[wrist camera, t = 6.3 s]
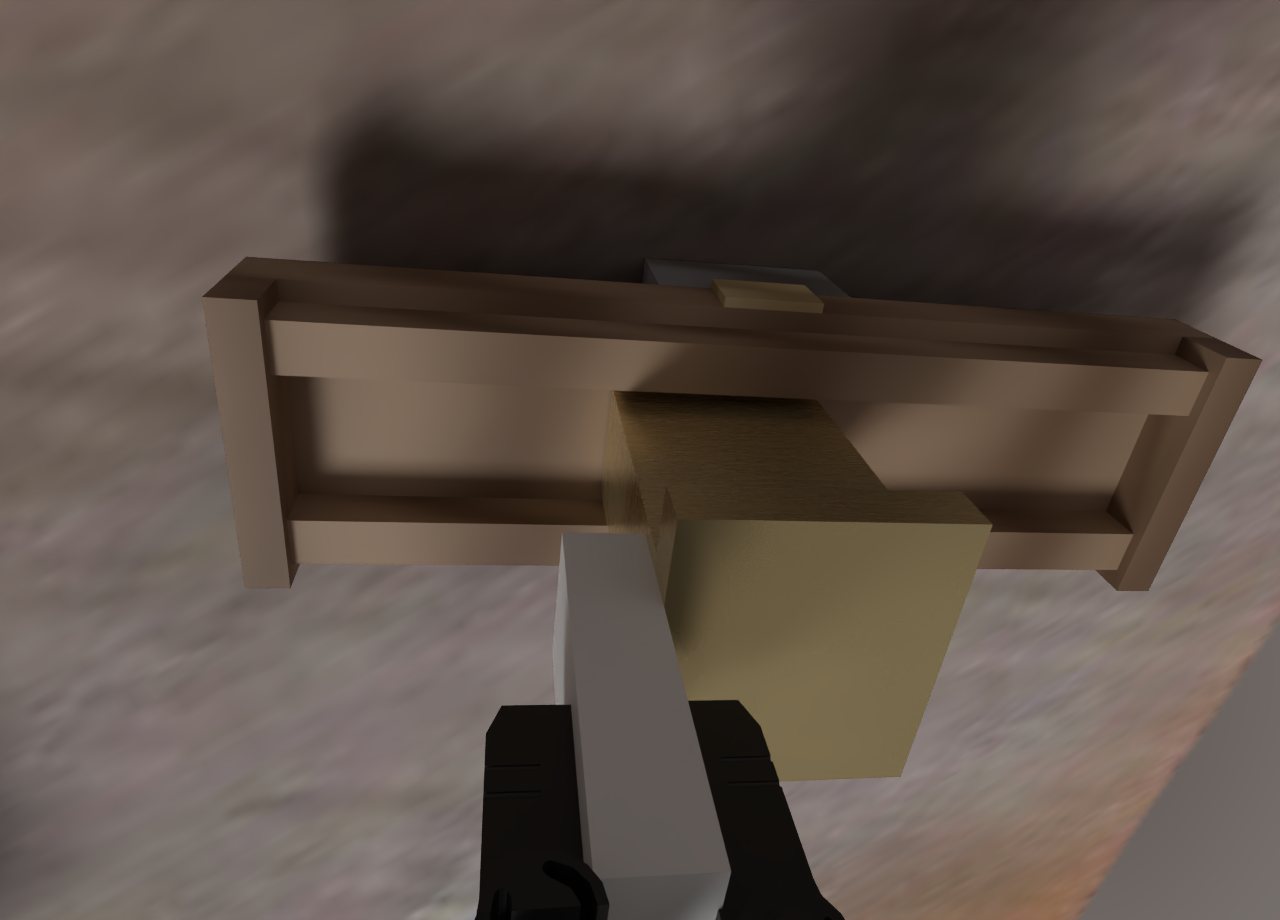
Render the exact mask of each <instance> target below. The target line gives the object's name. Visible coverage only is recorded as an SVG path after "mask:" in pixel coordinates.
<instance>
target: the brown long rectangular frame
mask: <svg viewBox="0 0 1280 920" xmlns="http://www.w3.org/2000/svg"><path fill="white" fill-rule="evenodd" d="M202 300H203V307H204V314H205V321H206V328H207V334H208V341H209V348H210V355H211V361H212V368H213V375H214V382H215V388H216V395H217V402H218V409H219V416H220V422H221V429H222V436H223V443H224V449H225V456H226V463H227V470H228V476H229V483H230V490H231V497H232V504H233V510H234V517H235V524H236V531H237V537H238V544H239V551H240V558H241V565H242V571H243V578H244V585H245V588H291V585H292V583H293V580H294V577H295V575H296V572H297V570H298V567H299V565H300V564H418V565H546V566H559V564H560V552H561V539H562V532H579V533H608V529H607V523H606V518H605V512H604V507H603V501H602V496H601V485H602V475H603V465H604V455H605V445H606V434H607V424H608V414H609V404H610V394H611V390H618V391H640V392H662V393H685V394H707V395H729V396H752V397H774V398H796V399H817V400H818V402H819V403H820V404H821V405H822V407H823V408H824V409H825V411H826V412H827V413H828V414H829V416H830V417H831V418H832V419H833V421H834V422H835V423H836V425H837V426H838V427H839V428H840V430H841V431H842V432H843V433H844V435H845V436H846V437H847V439H848V440H849V441H850V442H851V444H852V445H853V446H854V447H855V449H856V450H857V451H858V453H859V454H860V455H861V456H862V458H863V459H864V460H865V461H866V463H867V464H868V465H869V467H870V468H871V469H872V470H873V472H874V473H875V474H876V475H877V477H878V478H879V479H880V481H881V482H882V483H883V484H884V486H885V487H886V488H887V489H888V490H913V491H953V492H963V493H964V495H965V496H966V497H967V498H968V499H969V500H970V501H971V502H972V503H973V504H974V505H975V506H976V507H977V508H978V509H979V511H980V512H981V513H982V514H983V515H984V516H985V517H986V518H987V519H988V520H989V521H990V522H991V523H992V524H993V525H992V528H991V531H990V533H989V536H988V539H987V542H986V544H985V547H984V550H983V553H982V555H981V558H980V561H979V564H978V566H977V569H1057V570H1096V571H1097V572H1098V573H1099V574H1100V575H1101V576H1102V577H1103V578H1104V579H1105V580H1106V581H1107V582H1108V583H1109V584H1111V585H1112V586H1113V587H1114V588H1115V589H1116V590H1117V591H1149V589H1150V586H1151V584H1152V582H1153V580H1154V578H1155V576H1156V574H1157V572H1158V570H1159V568H1160V566H1161V564H1162V562H1163V560H1164V558H1165V556H1166V554H1167V552H1168V550H1169V548H1170V546H1171V544H1172V542H1173V540H1174V538H1175V536H1176V534H1177V532H1178V530H1179V528H1180V526H1181V524H1182V522H1183V520H1184V518H1185V516H1186V514H1187V512H1188V510H1189V507H1190V505H1191V503H1192V501H1193V499H1194V497H1195V495H1196V493H1197V491H1198V489H1199V487H1200V485H1201V483H1202V481H1203V479H1204V477H1205V475H1206V473H1207V471H1208V469H1209V467H1210V465H1211V463H1212V461H1213V459H1214V457H1215V455H1216V453H1217V451H1218V449H1219V447H1220V445H1221V443H1222V441H1223V439H1224V437H1225V435H1226V433H1227V431H1228V429H1229V426H1230V424H1231V422H1232V420H1233V418H1234V416H1235V414H1236V412H1237V410H1238V408H1239V406H1240V404H1241V402H1242V400H1243V398H1244V396H1245V394H1246V392H1247V390H1248V388H1249V386H1250V384H1251V382H1252V380H1253V378H1254V376H1255V374H1256V372H1257V370H1258V368H1259V366H1260V364H1261V362H1262V359H1260V358H1257V357H1255V356H1253V355H1251V354H1249V353H1247V352H1244V351H1242V350H1240V349H1238V348H1236V347H1234V346H1231V345H1229V344H1227V343H1225V342H1223V341H1221V340H1218V339H1216V338H1214V337H1212V336H1210V335H1208V334H1205V333H1203V332H1201V331H1199V330H1197V329H1195V328H1193V327H1190V326H1188V325H1186V324H1184V323H1182V322H1180V321H1177V320H1174V319H1159V318H1144V317H1130V316H1115V315H1100V314H1085V313H1070V312H1056V311H1041V310H1026V309H1011V308H996V307H982V306H967V305H952V304H937V303H922V302H908V301H893V300H878V299H863V298H851V297H850V296H848V295H847V294H846V293H845V292H844V291H842V290H841V289H840V288H839V287H838V286H837V285H835V284H834V283H833V282H832V281H831V280H829V279H828V278H827V277H826V276H825V275H823V274H822V273H821V272H820V271H815V270H801V269H787V268H773V267H760V266H746V265H732V264H719V263H705V262H691V261H678V260H664V259H650V258H645V262H644V271H643V280H642V284H641V283H626V282H611V281H597V280H582V279H567V278H552V277H537V276H523V275H508V274H493V273H478V272H463V271H448V270H434V269H419V268H404V267H389V266H374V265H360V264H345V263H330V262H315V261H300V260H286V259H271V258H256V257H245V258H244V259H243V260H242V261H241V262H240V263H239V264H238V265H237V266H236V267H234V268H233V269H232V270H231V271H230V272H229V273H228V274H227V275H226V276H225V277H223V278H222V279H221V280H220V281H219V282H218V283H217V284H216V285H215V286H214V287H213V288H211V289H210V290H209V291H208V292H207V293H206V294H205V295H204V296H203V297H202Z"/></svg>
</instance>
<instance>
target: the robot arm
mask: <svg viewBox="0 0 1280 920" xmlns="http://www.w3.org/2000/svg"><path fill="white" fill-rule="evenodd" d="M553 669H554V686H555V703H556V705H514V706H501V708H500V710H499V712H498V713H497V715H496V717H495V719H494V720H493V722H492V724H491V726H490V727H489V729H488V731H487V733H486V746H485V771H484V795H483V819H482V844H481V869H480V893H479V903H478V909H477V915H476V918H475V920H845V919H844V917H843V916H842V914H841V913H840V912H839V911H838V910H837V909H836V908H835V907H833V906H832V905H831V904H830V903H829V902H828V901H827V900H826V899H825V898H824V897H823V896H822V895H821V893H820V891H819V889H818V887H817V885H816V883H815V881H814V879H813V876H812V873H811V870H810V868H809V865H808V862H807V859H806V856H805V853H804V850H803V847H802V844H801V842H800V839H799V836H798V833H797V830H796V827H795V824H794V821H793V818H792V816H791V813H790V810H789V807H788V804H787V801H786V798H785V795H784V792H783V790H782V787H780V785H779V778H778V775H777V772H776V769H775V766H774V764H773V761H771V755H770V752H769V749H768V746H767V743H766V740H765V738H764V735H763V732H762V729H761V726H760V725H759V723H758V722H757V721H756V720H755V719H754V718H753V716H752V715H751V714H750V713H749V712H748V711H747V710H746V708H745V707H744V706H743V705H742V704H741V703H740V701H739V700H694V701H688V699H687V695H686V691H685V687H684V683H683V679H682V675H681V671H680V667H679V663H678V659H677V655H676V651H675V647H674V643H673V640H672V636H671V632H670V628H669V624H668V620H667V616H666V612H665V608H664V605H663V601H662V597H661V593H660V589H659V585H658V582H657V578H656V574H655V570H654V566H653V562H652V558H651V554H650V550H649V546H648V542H647V538H646V535H645V534H629V533H579V532H562V539H561V552H560V564H559V577H558V590H557V602H556V615H555V628H554V640H553Z"/></svg>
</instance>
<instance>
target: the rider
mask: <svg viewBox="0 0 1280 920" xmlns="http://www.w3.org/2000/svg"><path fill="white" fill-rule="evenodd" d="M601 496H602V501H603V507H604V512H605V518H606V523H607V529H608V533H629V534H645V535H646V538H647V542H648V546H649V550H650V554H651V558H652V562H653V566H654V570H655V574H656V578H657V582H658V585H659V589H660V593H661V597H662V601H663V605H664V608H665V612H666V616H667V620H668V624H669V628H670V632H671V636H672V640H673V643H674V647H675V651H676V655H677V659H678V663H679V667H680V671H681V675H682V679H683V683H684V687H685V691H686V695H687V699H688V701H694V700H739V701H740V703H741V704H742V705H743V706H744V707H745V708H746V710H747V711H748V712H749V713H750V714H751V715H752V716H753V718H754V719H755V720H756V721H757V722H758V723H759V725H760V726H761V729H762V732H763V735H764V738H765V740H766V743H767V746H768V749H769V752H770V755H771V761H773V764H774V766H775V769H776V772H777V775H778V778H779V781H803V780H829V779H855V778H881V777H901V774H902V771H903V768H904V766H905V763H906V760H907V758H908V755H909V752H910V749H911V747H912V744H913V741H914V738H915V736H916V733H917V730H918V727H919V725H920V722H921V719H922V717H923V714H924V711H925V708H926V706H927V703H928V700H929V697H930V695H931V692H932V689H933V686H934V684H935V681H936V678H937V676H938V673H939V670H940V667H941V665H942V662H943V659H944V656H945V654H946V651H947V648H948V645H949V643H950V640H951V637H952V635H953V632H954V629H955V626H956V624H957V621H958V618H959V615H960V613H961V610H962V607H963V605H964V602H965V599H966V596H967V594H968V591H969V588H970V585H971V583H972V580H973V577H974V574H975V572H976V569H977V566H978V564H979V561H980V558H981V555H982V553H983V550H984V547H985V544H986V542H987V539H988V536H989V533H990V531H991V528H992V525H993V524H992V523H991V522H990V521H989V520H988V519H987V518H986V517H985V516H984V515H983V514H982V513H981V512H980V511H979V509H978V508H977V507H976V506H975V505H974V504H973V503H972V502H971V501H970V500H969V499H968V498H967V497H966V496H965V495H964V493H963V492H953V491H913V490H888V489H887V488H886V487H885V486H884V484H883V483H882V482H881V481H880V479H879V478H878V477H877V475H876V474H875V473H874V472H873V470H872V469H871V468H870V467H869V465H868V464H867V463H866V461H865V460H864V459H863V458H862V456H861V455H860V454H859V453H858V451H857V450H856V449H855V447H854V446H853V445H852V444H851V442H850V441H849V440H848V439H847V437H846V436H845V435H844V433H843V432H842V431H841V430H840V428H839V427H838V426H837V425H836V423H835V422H834V421H833V419H832V418H831V417H830V416H829V414H828V413H827V412H826V411H825V409H824V408H823V407H822V405H821V404H820V403H819V402H818V400H817V399H796V398H774V397H752V396H729V395H707V394H685V393H662V392H640V391H618V390H611V394H610V404H609V414H608V424H607V434H606V445H605V455H604V465H603V475H602V485H601Z"/></svg>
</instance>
